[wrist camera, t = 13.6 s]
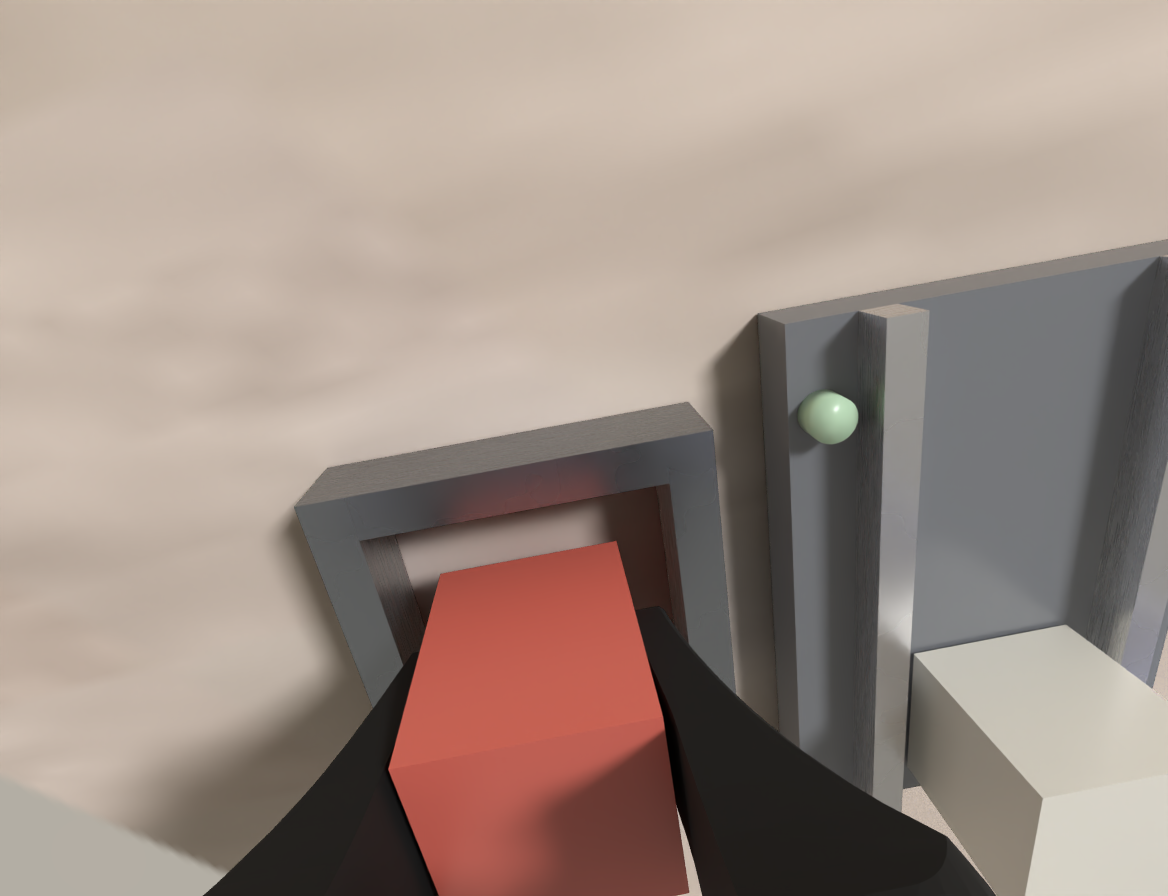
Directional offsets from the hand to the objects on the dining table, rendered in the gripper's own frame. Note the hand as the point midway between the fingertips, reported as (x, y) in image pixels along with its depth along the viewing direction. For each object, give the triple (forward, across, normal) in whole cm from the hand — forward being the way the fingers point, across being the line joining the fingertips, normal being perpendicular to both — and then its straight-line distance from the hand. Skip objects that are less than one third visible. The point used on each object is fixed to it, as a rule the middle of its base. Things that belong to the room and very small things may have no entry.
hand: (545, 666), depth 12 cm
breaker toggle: (+1, -11, +5) cm, 12 cm away
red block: (+2, 0, 0) cm, 2 cm away
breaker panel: (+3, -11, +1) cm, 11 cm away
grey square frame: (+3, 0, 0) cm, 3 cm away
